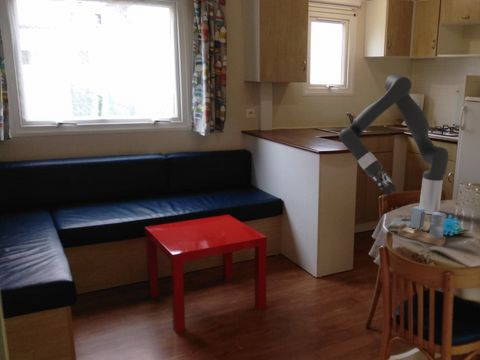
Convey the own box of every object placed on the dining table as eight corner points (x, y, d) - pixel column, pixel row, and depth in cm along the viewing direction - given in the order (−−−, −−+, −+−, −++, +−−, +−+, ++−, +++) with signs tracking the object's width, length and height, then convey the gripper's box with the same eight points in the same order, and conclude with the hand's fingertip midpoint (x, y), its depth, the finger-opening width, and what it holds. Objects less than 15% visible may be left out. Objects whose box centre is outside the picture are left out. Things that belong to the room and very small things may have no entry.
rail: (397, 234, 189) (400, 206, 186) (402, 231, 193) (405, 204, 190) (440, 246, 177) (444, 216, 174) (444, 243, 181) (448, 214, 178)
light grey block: (413, 227, 199) (416, 206, 196) (423, 229, 196) (425, 208, 194) (409, 229, 196) (412, 207, 194) (419, 231, 193) (422, 210, 191)
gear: (433, 230, 190) (439, 211, 194) (431, 236, 195) (437, 217, 199) (460, 238, 186) (466, 218, 190) (458, 244, 190) (463, 224, 194)
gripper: (371, 161, 194) (395, 191, 191) (380, 157, 206) (403, 184, 202) (358, 171, 198) (381, 200, 195) (368, 166, 210) (390, 193, 206)
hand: (392, 192), depth 199 cm, fingers open, 8 cm apart
